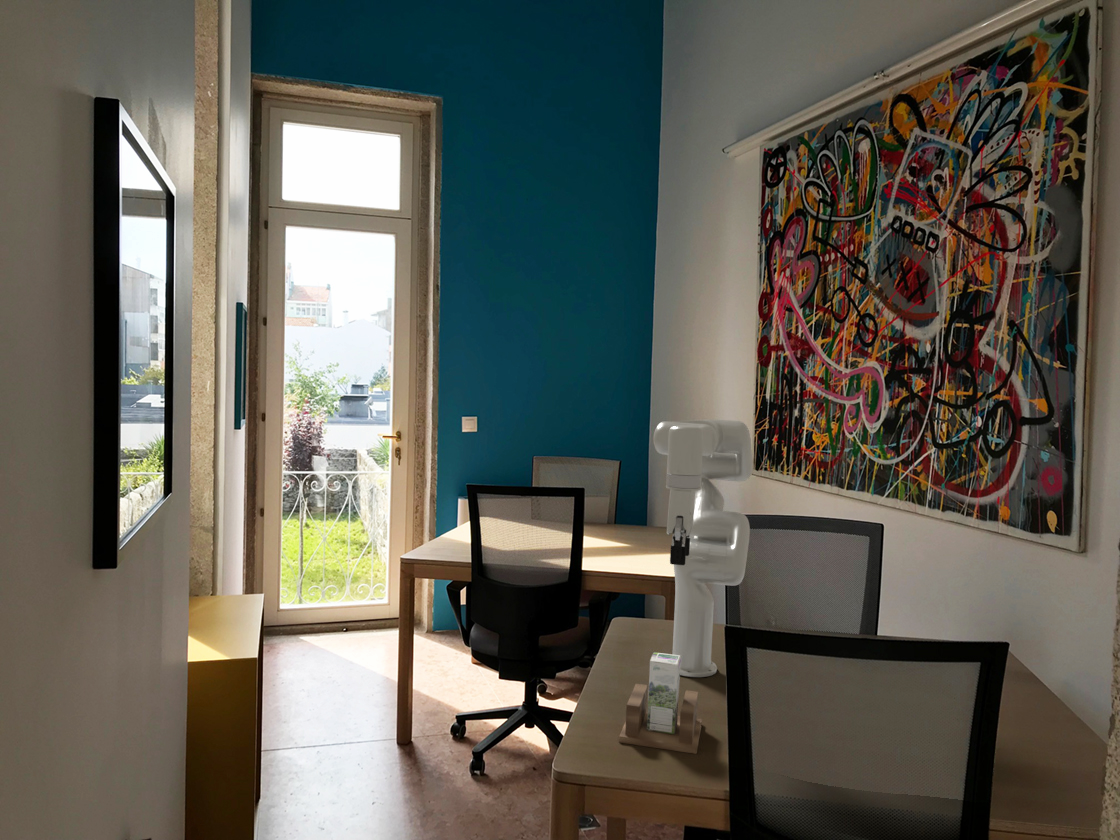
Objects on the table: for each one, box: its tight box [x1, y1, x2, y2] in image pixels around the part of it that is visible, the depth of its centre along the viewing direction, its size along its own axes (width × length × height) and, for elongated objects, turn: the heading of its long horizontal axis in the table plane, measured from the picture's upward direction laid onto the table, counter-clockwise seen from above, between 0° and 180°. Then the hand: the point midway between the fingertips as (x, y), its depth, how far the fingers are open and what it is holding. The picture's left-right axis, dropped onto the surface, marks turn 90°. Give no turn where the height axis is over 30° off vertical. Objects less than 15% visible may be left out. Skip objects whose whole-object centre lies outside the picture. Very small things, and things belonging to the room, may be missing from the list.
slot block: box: [618, 683, 703, 755], centre depth 163 cm, size 14×15×7 cm
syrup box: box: [647, 651, 681, 734], centre depth 163 cm, size 6×6×14 cm
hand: (679, 559), depth 177 cm, fingers open, 9 cm apart
